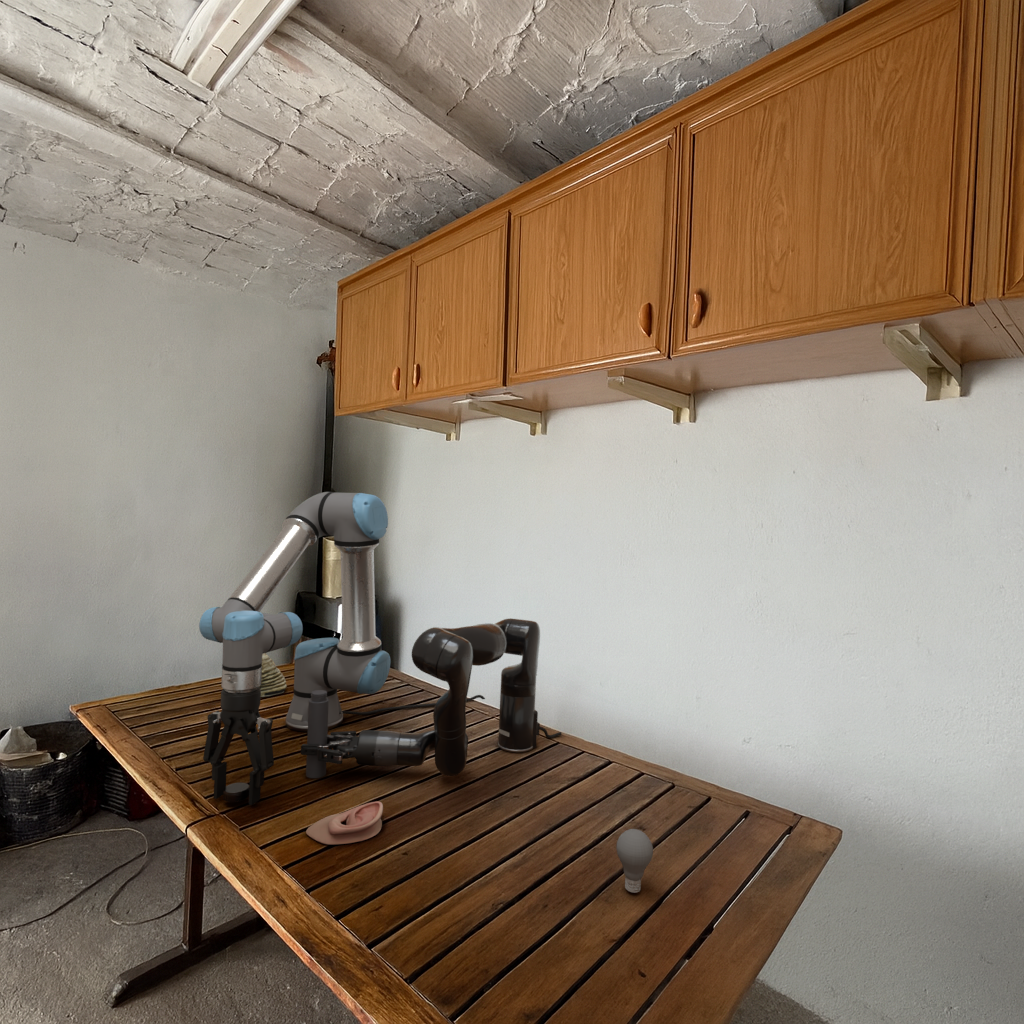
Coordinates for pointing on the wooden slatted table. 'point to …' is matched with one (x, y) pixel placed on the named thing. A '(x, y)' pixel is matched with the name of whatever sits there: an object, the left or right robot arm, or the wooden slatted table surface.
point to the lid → (236, 792)
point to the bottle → (317, 731)
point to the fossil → (271, 678)
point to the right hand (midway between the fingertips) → (305, 745)
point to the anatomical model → (348, 825)
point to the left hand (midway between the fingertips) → (236, 798)
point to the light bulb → (634, 857)
